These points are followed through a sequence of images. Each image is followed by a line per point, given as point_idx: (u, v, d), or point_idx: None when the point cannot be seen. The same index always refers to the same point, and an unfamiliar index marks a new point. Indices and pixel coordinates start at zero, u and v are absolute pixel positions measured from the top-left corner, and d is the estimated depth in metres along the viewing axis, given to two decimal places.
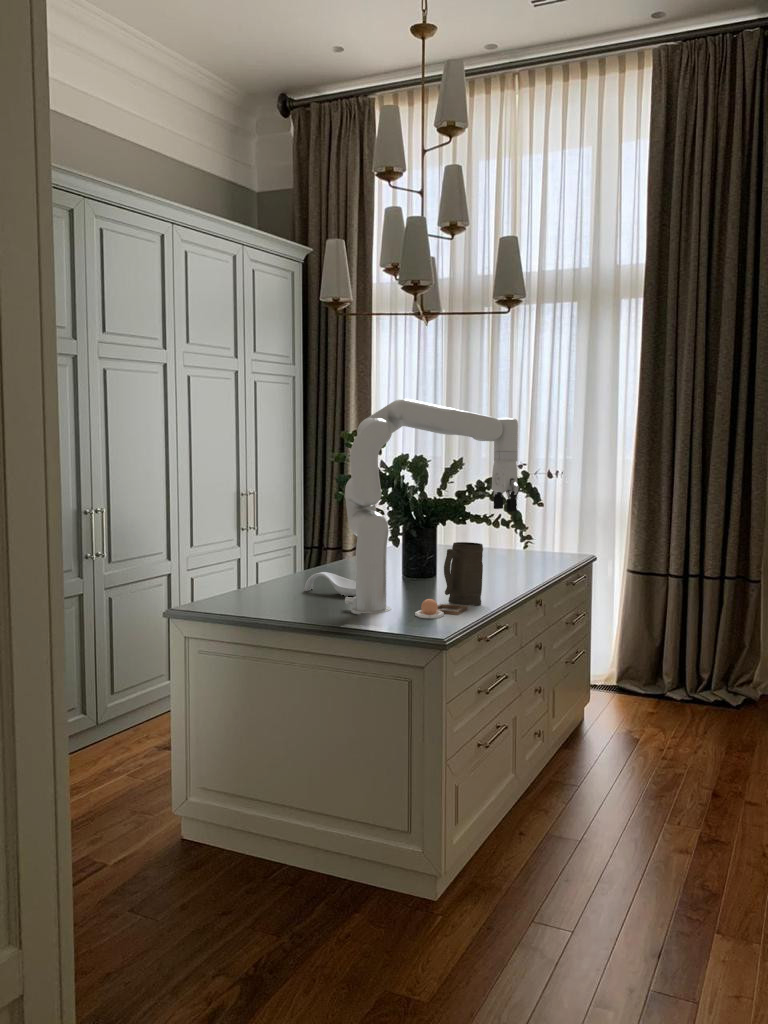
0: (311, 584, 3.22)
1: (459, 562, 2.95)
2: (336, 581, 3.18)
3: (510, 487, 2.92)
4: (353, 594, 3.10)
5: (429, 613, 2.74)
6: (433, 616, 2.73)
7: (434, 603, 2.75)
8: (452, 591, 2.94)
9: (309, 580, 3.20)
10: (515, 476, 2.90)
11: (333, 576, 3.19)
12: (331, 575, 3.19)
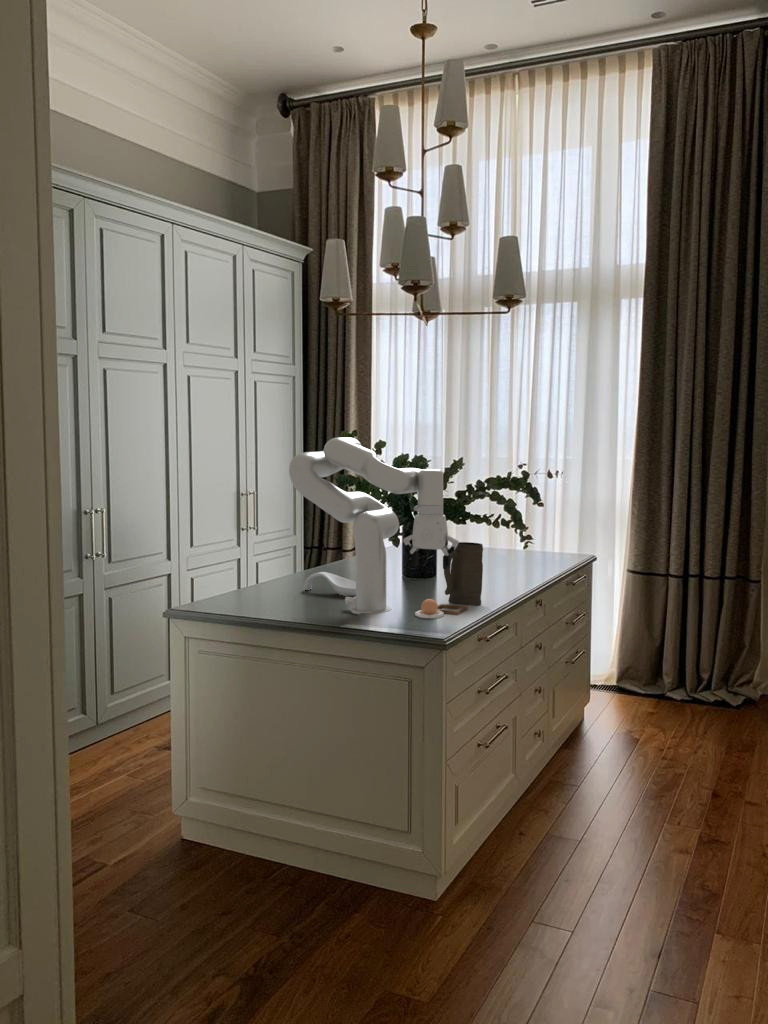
0: (310, 584, 3.22)
1: (459, 562, 2.95)
2: (335, 581, 3.18)
3: None
4: (352, 594, 3.11)
5: (429, 613, 2.74)
6: (433, 616, 2.73)
7: (434, 603, 2.75)
8: (452, 591, 2.94)
9: (308, 580, 3.20)
10: (447, 531, 2.73)
11: (332, 576, 3.19)
12: (330, 575, 3.19)
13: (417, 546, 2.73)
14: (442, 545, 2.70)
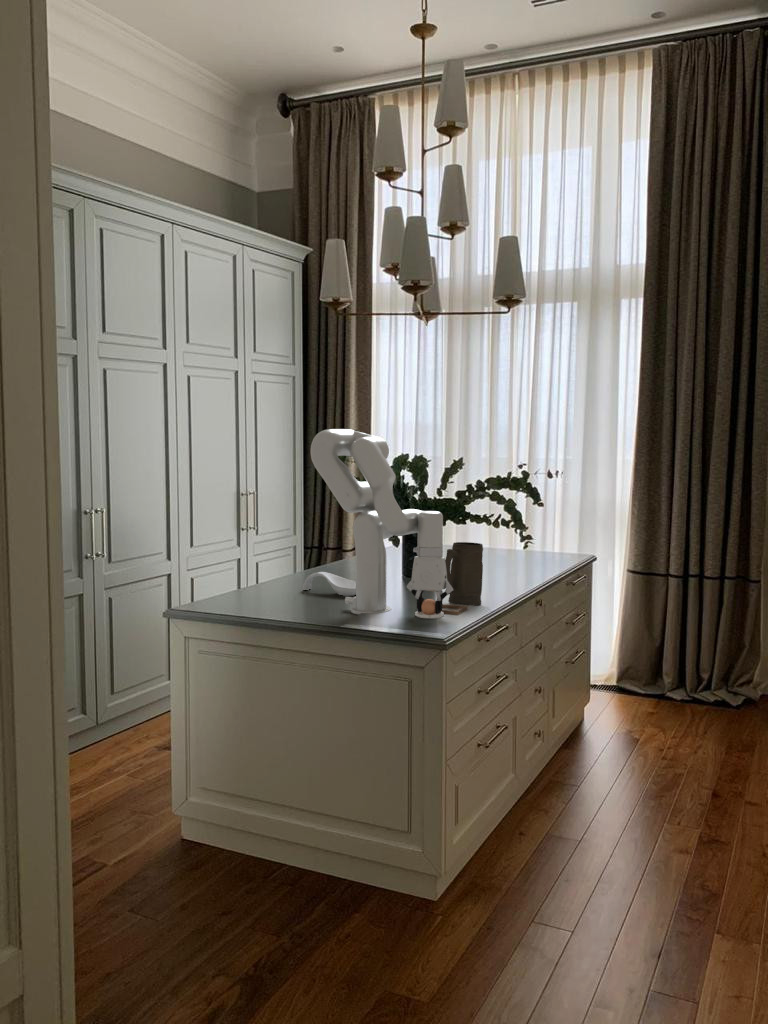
0: (309, 584, 3.23)
1: (459, 562, 2.95)
2: (334, 581, 3.18)
3: None
4: (351, 594, 3.11)
5: (429, 613, 2.74)
6: (433, 616, 2.73)
7: (434, 603, 2.75)
8: (452, 591, 2.94)
9: (307, 580, 3.21)
10: (446, 572, 2.74)
11: (331, 576, 3.19)
12: (329, 575, 3.19)
13: (416, 588, 2.74)
14: (441, 587, 2.71)
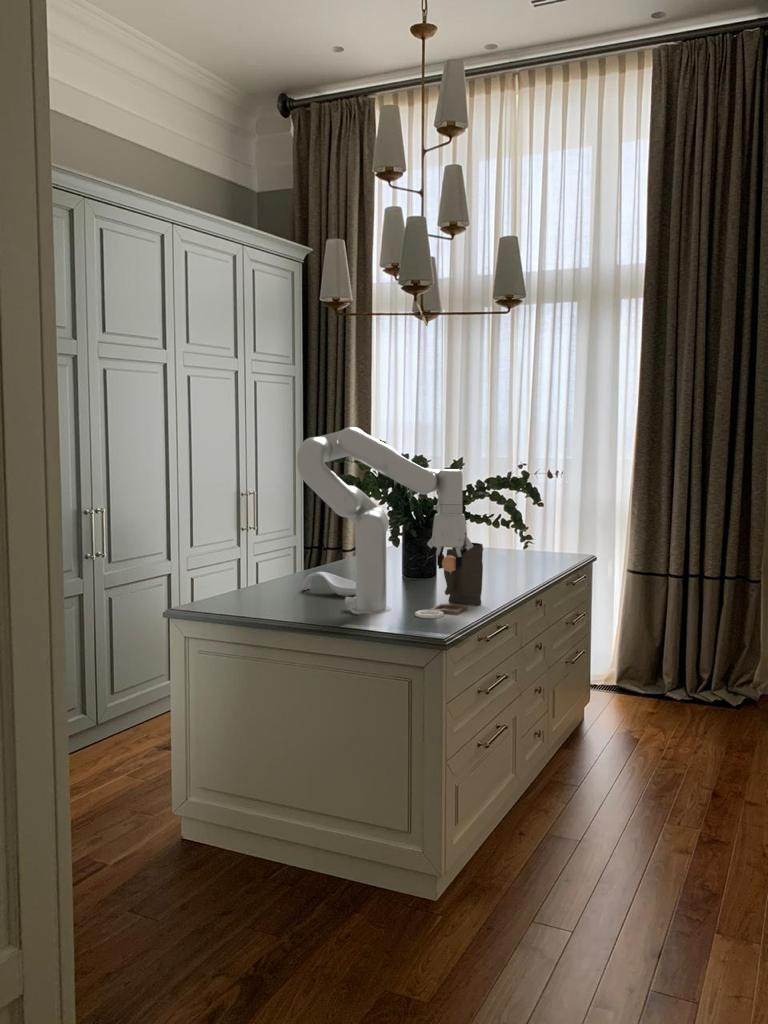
0: (308, 584, 3.23)
1: None
2: (333, 581, 3.19)
3: (460, 541, 2.80)
4: (349, 594, 3.11)
5: (449, 569, 2.80)
6: (433, 616, 2.73)
7: (454, 559, 2.80)
8: (452, 591, 2.94)
9: (306, 579, 3.21)
10: (466, 529, 2.80)
11: (330, 576, 3.20)
12: (328, 575, 3.20)
13: (437, 544, 2.80)
14: (461, 543, 2.77)
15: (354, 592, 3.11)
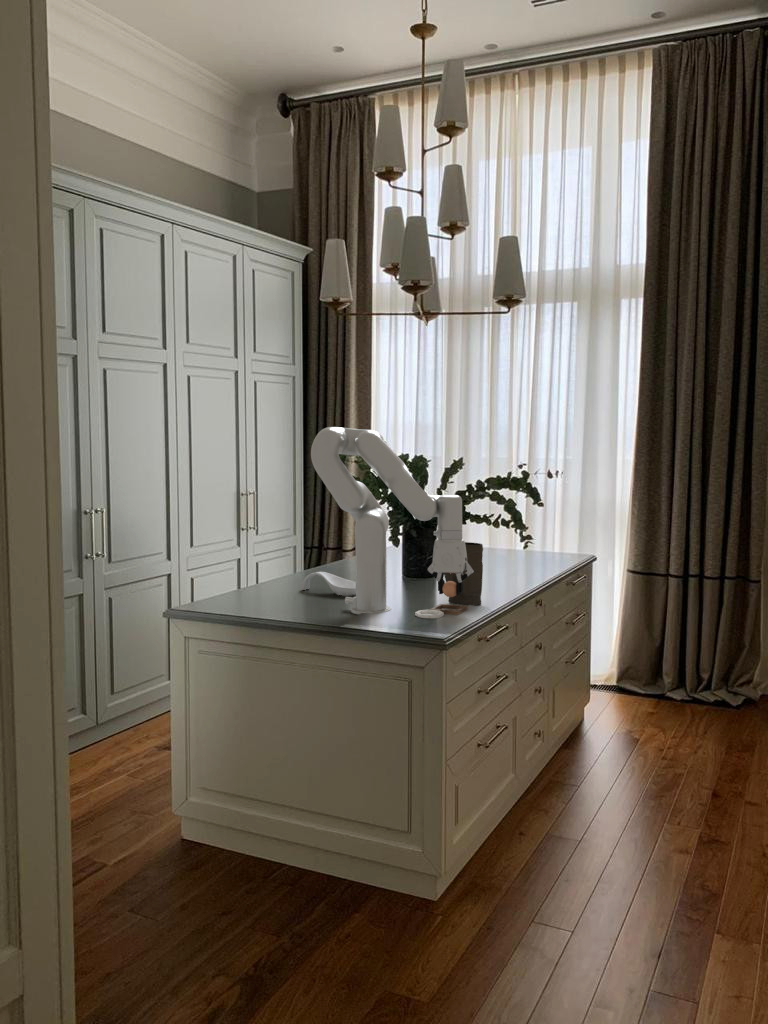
0: (308, 584, 3.23)
1: None
2: (332, 581, 3.19)
3: None
4: (348, 594, 3.11)
5: (450, 595, 2.81)
6: (433, 616, 2.73)
7: (455, 585, 2.81)
8: None
9: (306, 579, 3.21)
10: (466, 555, 2.81)
11: (329, 576, 3.20)
12: (327, 575, 3.20)
13: (437, 570, 2.81)
14: (462, 569, 2.78)
15: (353, 592, 3.11)
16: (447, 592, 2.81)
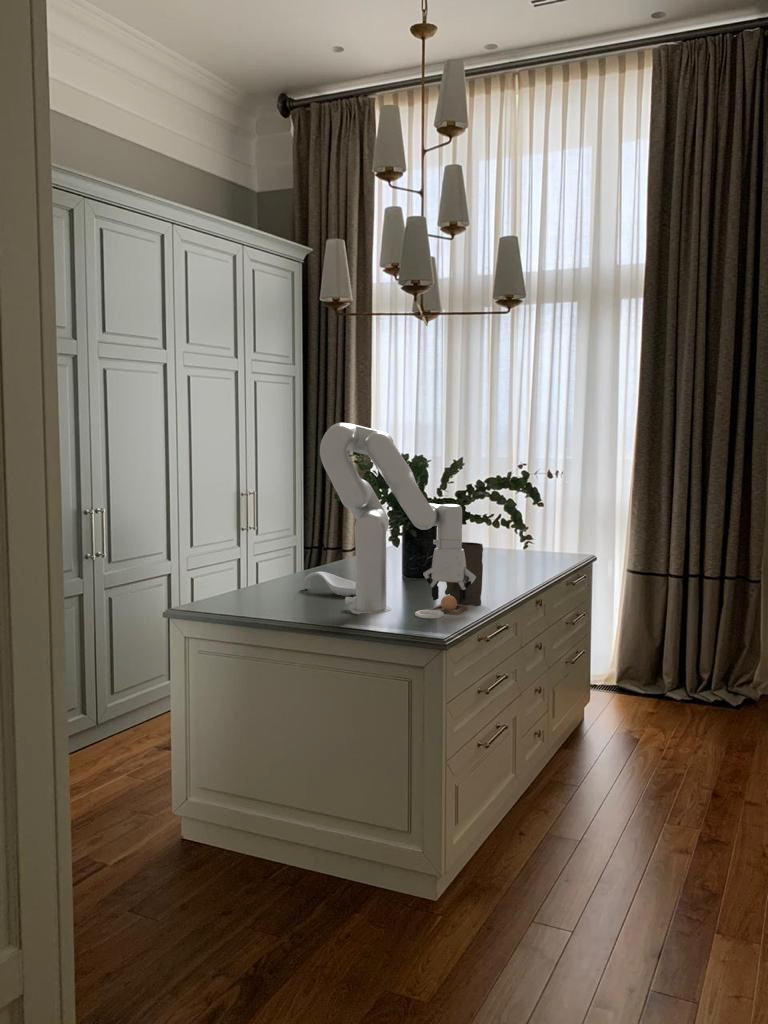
0: (308, 583, 3.24)
1: None
2: (332, 581, 3.19)
3: None
4: (347, 594, 3.11)
5: (448, 609, 2.81)
6: (433, 616, 2.73)
7: (453, 599, 2.82)
8: (452, 591, 2.94)
9: (306, 579, 3.22)
10: (465, 564, 2.81)
11: (329, 576, 3.20)
12: (327, 574, 3.20)
13: (436, 579, 2.81)
14: (461, 578, 2.78)
15: (352, 592, 3.11)
16: (445, 606, 2.81)
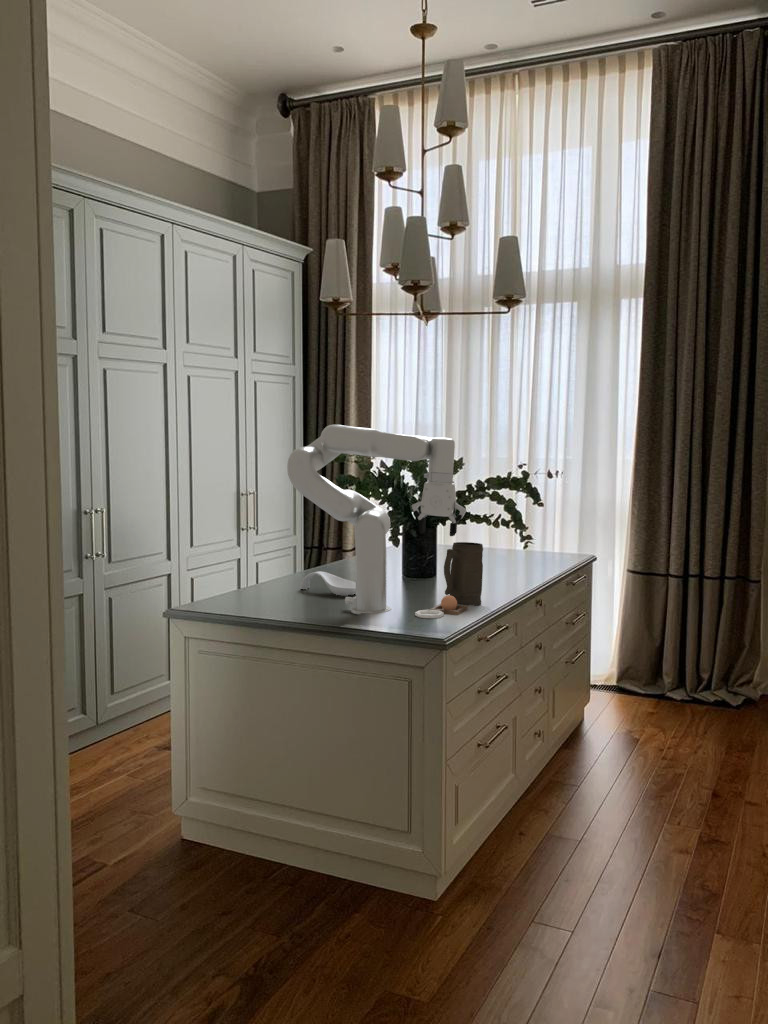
0: (307, 583, 3.24)
1: (459, 562, 2.95)
2: (331, 580, 3.19)
3: None
4: (346, 594, 3.11)
5: (449, 609, 2.81)
6: (433, 616, 2.73)
7: (454, 599, 2.82)
8: (452, 591, 2.94)
9: (305, 579, 3.22)
10: (455, 499, 2.79)
11: (328, 575, 3.20)
12: (326, 574, 3.20)
13: (425, 512, 2.78)
14: (450, 512, 2.76)
15: (350, 592, 3.11)
16: (446, 606, 2.81)
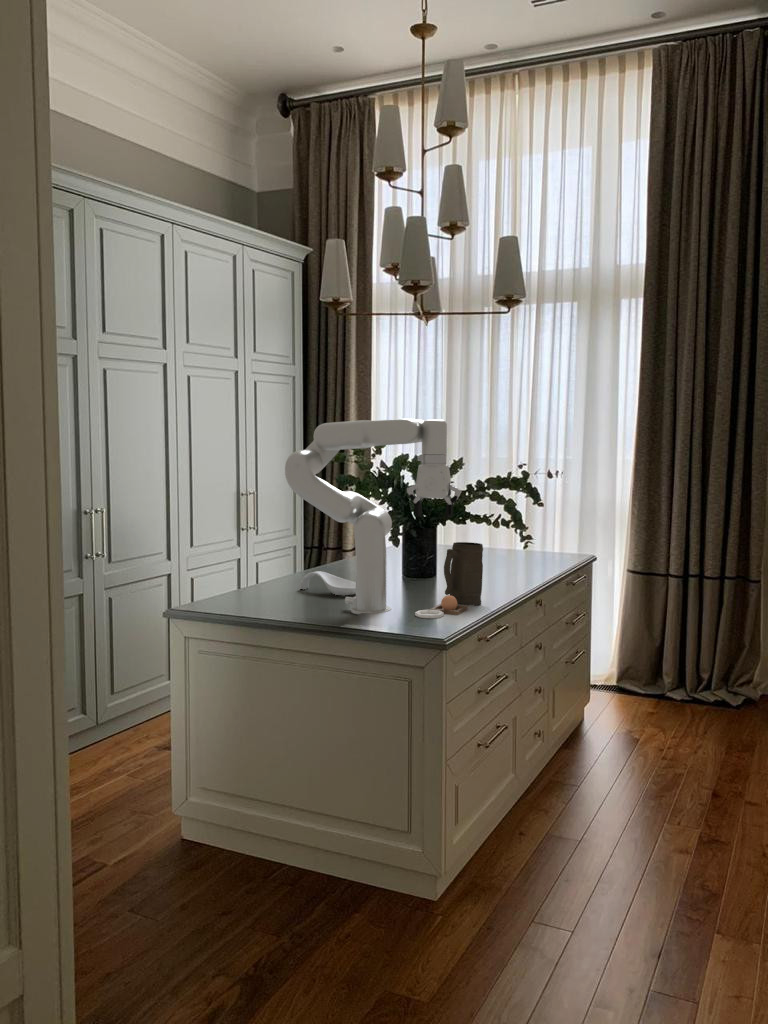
0: (306, 583, 3.24)
1: (459, 562, 2.95)
2: (330, 580, 3.19)
3: None
4: (345, 593, 3.11)
5: (449, 609, 2.81)
6: (433, 616, 2.73)
7: (454, 600, 2.82)
8: (452, 591, 2.94)
9: (304, 579, 3.22)
10: (450, 480, 2.77)
11: (327, 575, 3.20)
12: (325, 574, 3.21)
13: (420, 495, 2.77)
14: (445, 494, 2.74)
15: (349, 592, 3.11)
16: (446, 606, 2.81)
